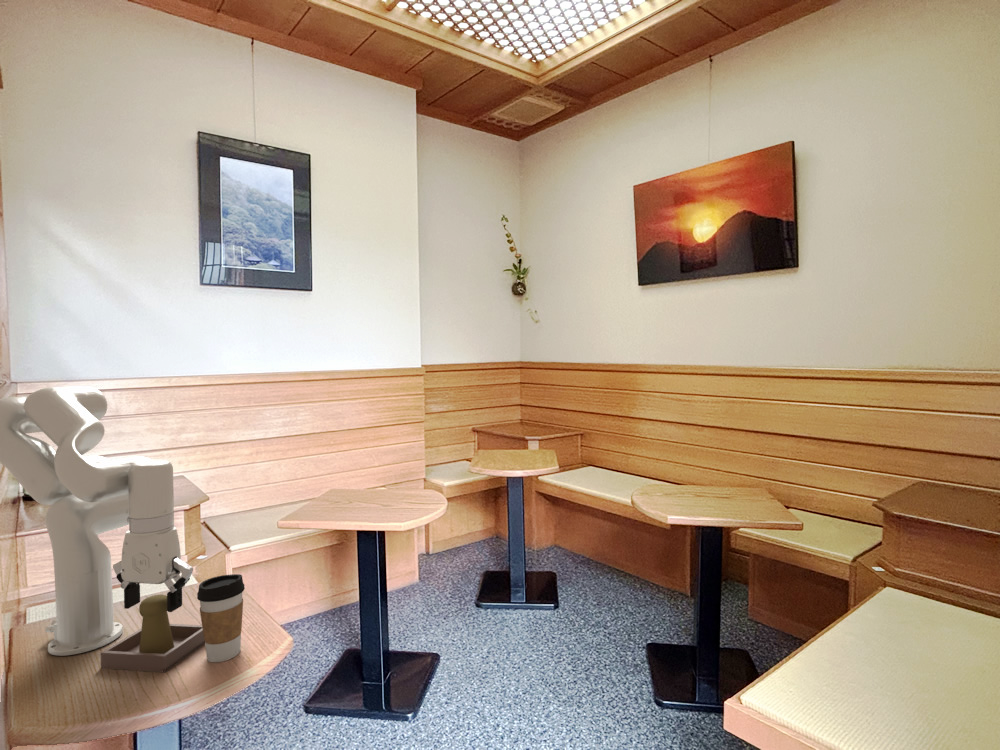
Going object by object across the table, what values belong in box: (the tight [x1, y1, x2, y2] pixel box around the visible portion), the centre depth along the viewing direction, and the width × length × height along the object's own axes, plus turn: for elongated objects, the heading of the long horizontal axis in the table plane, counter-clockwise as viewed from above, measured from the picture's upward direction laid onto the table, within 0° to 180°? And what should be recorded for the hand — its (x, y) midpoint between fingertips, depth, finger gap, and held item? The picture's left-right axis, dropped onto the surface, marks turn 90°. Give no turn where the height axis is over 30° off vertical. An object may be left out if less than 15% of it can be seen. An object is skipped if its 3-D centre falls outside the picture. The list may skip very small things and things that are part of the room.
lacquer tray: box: [100, 623, 205, 673], centre depth 106 cm, size 14×12×3 cm
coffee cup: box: [196, 573, 245, 663], centre depth 105 cm, size 8×8×15 cm
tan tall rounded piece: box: [138, 593, 174, 654], centre depth 106 cm, size 6×6×11 cm
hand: (153, 607), depth 106 cm, fingers open, 9 cm apart
